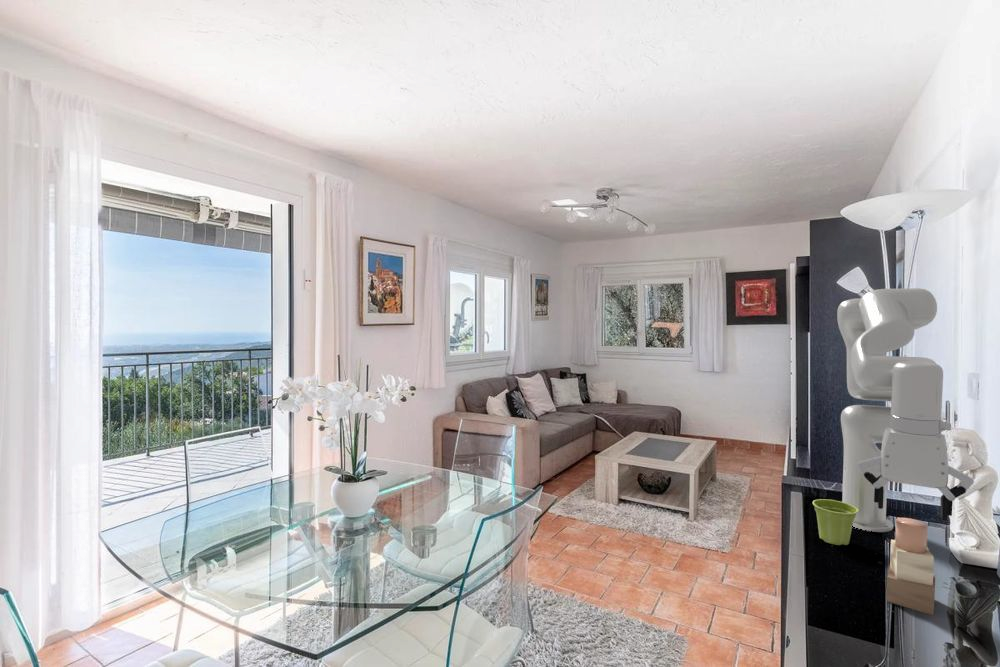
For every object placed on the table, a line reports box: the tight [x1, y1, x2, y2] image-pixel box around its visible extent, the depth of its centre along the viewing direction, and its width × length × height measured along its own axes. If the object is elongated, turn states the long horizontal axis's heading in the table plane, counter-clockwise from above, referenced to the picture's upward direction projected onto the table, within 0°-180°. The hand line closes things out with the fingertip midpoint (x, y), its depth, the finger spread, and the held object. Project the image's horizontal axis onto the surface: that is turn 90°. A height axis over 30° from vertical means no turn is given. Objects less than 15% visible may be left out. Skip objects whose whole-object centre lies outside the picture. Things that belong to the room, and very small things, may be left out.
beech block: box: [889, 539, 935, 586], centre depth 99 cm, size 6×6×6 cm
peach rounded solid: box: [894, 517, 928, 554], centre depth 99 cm, size 5×5×5 cm
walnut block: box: [886, 566, 936, 616], centre depth 99 cm, size 7×7×5 cm
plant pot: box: [812, 498, 858, 546], centre depth 125 cm, size 9×9×9 cm
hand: (911, 512), depth 99 cm, fingers open, 9 cm apart
